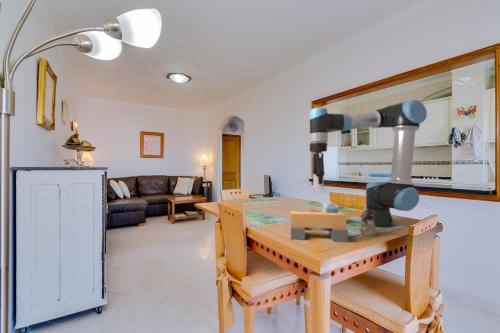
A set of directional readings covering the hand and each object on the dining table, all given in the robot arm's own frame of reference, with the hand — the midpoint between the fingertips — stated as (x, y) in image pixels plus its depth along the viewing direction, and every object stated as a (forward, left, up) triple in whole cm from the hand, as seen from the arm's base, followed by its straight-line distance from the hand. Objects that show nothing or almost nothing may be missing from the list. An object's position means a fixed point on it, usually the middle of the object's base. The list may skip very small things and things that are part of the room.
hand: (318, 189), depth 109 cm
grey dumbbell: (0, 0, -22) cm, 22 cm away
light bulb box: (-10, -28, -22) cm, 37 cm away
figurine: (-24, -8, -22) cm, 33 cm away
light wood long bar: (0, 0, -17) cm, 17 cm away
